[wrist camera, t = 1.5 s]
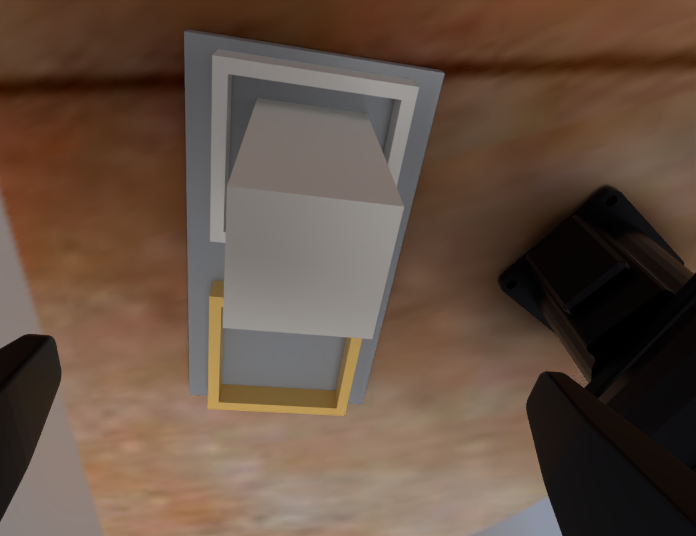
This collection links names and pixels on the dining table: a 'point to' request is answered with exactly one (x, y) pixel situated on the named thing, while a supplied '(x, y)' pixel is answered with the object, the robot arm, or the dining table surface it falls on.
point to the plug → (308, 223)
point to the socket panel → (211, 201)
